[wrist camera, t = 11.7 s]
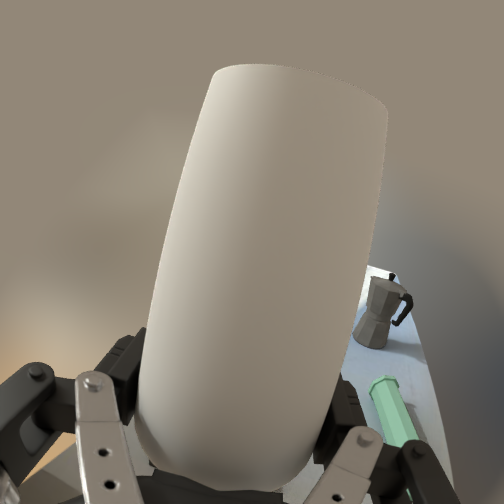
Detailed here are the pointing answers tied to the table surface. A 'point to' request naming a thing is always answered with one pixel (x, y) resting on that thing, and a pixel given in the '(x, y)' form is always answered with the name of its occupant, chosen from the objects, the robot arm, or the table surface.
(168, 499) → the robot arm
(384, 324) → the coffeepot
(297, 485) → the table surface
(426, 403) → the table surface
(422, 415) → the table surface
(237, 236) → the champagne flute
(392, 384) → the container
